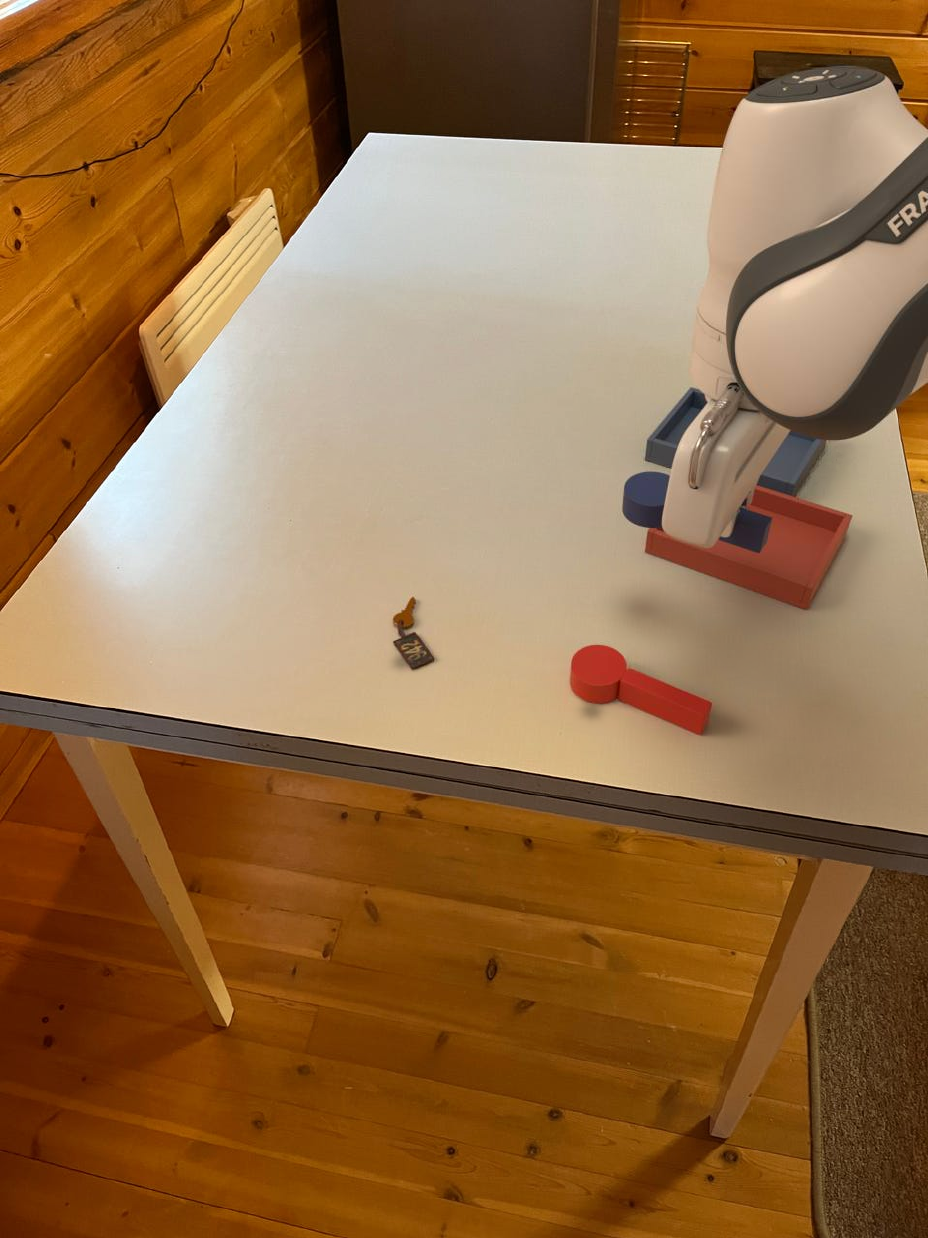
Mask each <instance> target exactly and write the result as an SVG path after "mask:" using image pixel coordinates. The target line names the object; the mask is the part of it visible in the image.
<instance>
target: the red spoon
mask: <svg viewBox="0 0 928 1238" xmlns="http://www.w3.org/2000/svg"><path fill="white" fill-rule="evenodd" d="M569 674H570V675H569V684H570V688H571V690H572V691H573V693H574V694H575V695H576V696H577V697H578V698H579V699H581V700H583V701H585V702H588V703H591V704H606V703H611V702H612V701H615V700H616V699H617V700H618V701H620V702H623V703H625V704H627V705H630V706H631V707H634V708H636V709H639V710H641V711H643V712H646V713H648V714H650V715H653V716H654V717H657V718H660V719H662V720H664V721H666V722H668V723H671V724H673V725H675V726H678V727H680V728H682V729H685V730H687V731H689V732H692V733H694V734H695V735H699V736H701V735H702V734H703V732H704V730H705V728H706V726H707V725H708V723H709V721H710V720H709V719H710V715H711V711H712V707H713V702H712V701H710V700H707V699H705V698H703V697H700V696H698V695H695V694H693V693H691V692H688V691H686V690H684V689H681V688H679V687H677V686H674V685H671V684H670V683H667V682H664V681H662V680H660V679H657V678H655V677H652V676H651V675H648V674H645V673H643V672H641V671H638V670H636V669H633V668H631V667H628V665H627V661H626V659H625V657H624V655H623V654H622V653H621V652H620V651H618V649H616V648H613V647H611V646H609V645H605V644H589V645H586V646H584V647H581V648H579V650H577V651H576V652H575V653H574V654H573V656H572V657H571V661H570V673H569Z"/></svg>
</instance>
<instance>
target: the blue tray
mask: <svg viewBox="0 0 928 1238" xmlns="http://www.w3.org/2000/svg"><path fill="white" fill-rule="evenodd" d="M707 403H708V402H707V400H706V398H705V394H704V393H703V392H701V391H700V390H699V389H698V388H697V387H692V386H690V387H689V389H688V390H687V391H686V392H685V393H684V395H683V396H681V398H680V399H679V400H678V401H677V403H676V404H675V405H674V407H672V409H671V410H670V411H669V412H668V414H667V415H666V416H665V417H664V418H663V420H662V421H661V422H660V423H659V424H658V426H656V427H655V429H654V430H653V432H652V433H651V434H650V435H649V437H647V439H646V446H645V454H644V455H645V456H644V461H647V462H649V463H653V464H656V465H659V466H662V467H665V468H669V469H672V465H673V461H674V457H675V454H676V451H677V448H678V445H679V443H680V440H681V438H682V436H683V435H684V433H685V431H686V430H687V428H688V427H689V426H690V425H691V423H692V422H693V421H694V420H695V418H696V417H697V416H698V414H699V413H700V412H701V411H702V409H703V408H704V407H705V406H706V404H707ZM827 441H828V440H821V439H815V438H811V437H808V436H805V435H802V434H799V433H796V432H794V431H792V430H790V432H789V433H788V435H787V436H786V438H785V439H784V441H783V442H782V444H781V445H780V447H779V448H778V450H777V451H776V453H775V454H774V456H773V457H772V459H771V460H770V462H769V463H768V465H767V466H766V468H765V469H764V471H763V472H762V474H761V476H760V477H759V479H758V482H757V484H756V485H758V486H761V487H764V488H767V489H770V490H774V491H777V492H780V493H783V494H786V495H790V496H793V497H796V495H797V493H798V491H799V490H800V488H801V487H802V485H803V483H804V482H805V481H806V478H807V477H808V475H809V474H810V471H811V470H812V468H813V467H814V465H815V464H816V462H817V461H818V460H819V457H820V455H821V454H822V452H823V450H824V449H825V447H826V444H827Z"/></svg>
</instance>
